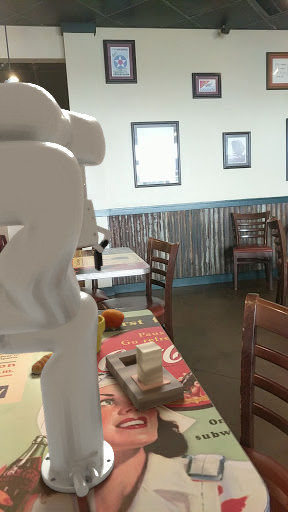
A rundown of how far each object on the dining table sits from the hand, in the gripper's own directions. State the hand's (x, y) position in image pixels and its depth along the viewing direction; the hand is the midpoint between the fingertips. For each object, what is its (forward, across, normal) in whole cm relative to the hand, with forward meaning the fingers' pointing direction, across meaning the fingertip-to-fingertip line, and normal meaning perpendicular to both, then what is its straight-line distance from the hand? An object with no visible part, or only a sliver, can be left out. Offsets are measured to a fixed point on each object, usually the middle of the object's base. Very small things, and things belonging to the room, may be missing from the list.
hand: (76, 272), depth 83 cm
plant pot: (+30, +6, +25) cm, 39 cm away
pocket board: (+30, +14, +1) cm, 33 cm away
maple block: (+26, +14, -5) cm, 30 cm away
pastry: (+30, -6, +20) cm, 36 cm away
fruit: (+30, +17, +39) cm, 52 cm away
